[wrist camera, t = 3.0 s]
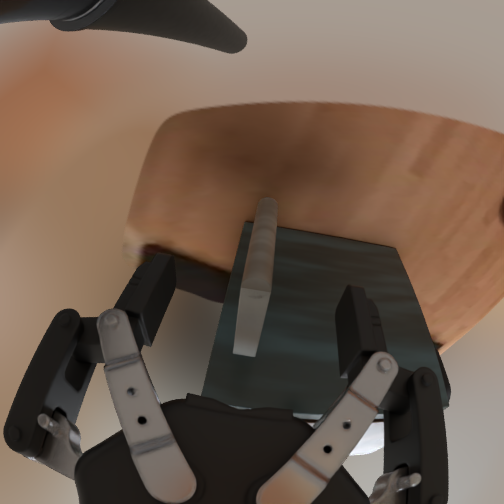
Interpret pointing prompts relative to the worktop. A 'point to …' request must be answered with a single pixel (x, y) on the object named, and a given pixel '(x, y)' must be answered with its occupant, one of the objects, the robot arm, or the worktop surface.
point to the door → (305, 317)
